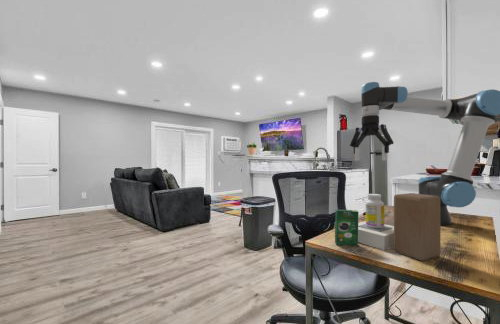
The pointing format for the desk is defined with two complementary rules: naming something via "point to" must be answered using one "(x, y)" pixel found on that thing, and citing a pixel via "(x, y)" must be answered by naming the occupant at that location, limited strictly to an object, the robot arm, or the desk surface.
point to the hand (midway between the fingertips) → (370, 160)
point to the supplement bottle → (374, 211)
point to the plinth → (376, 236)
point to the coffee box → (346, 227)
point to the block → (417, 225)
